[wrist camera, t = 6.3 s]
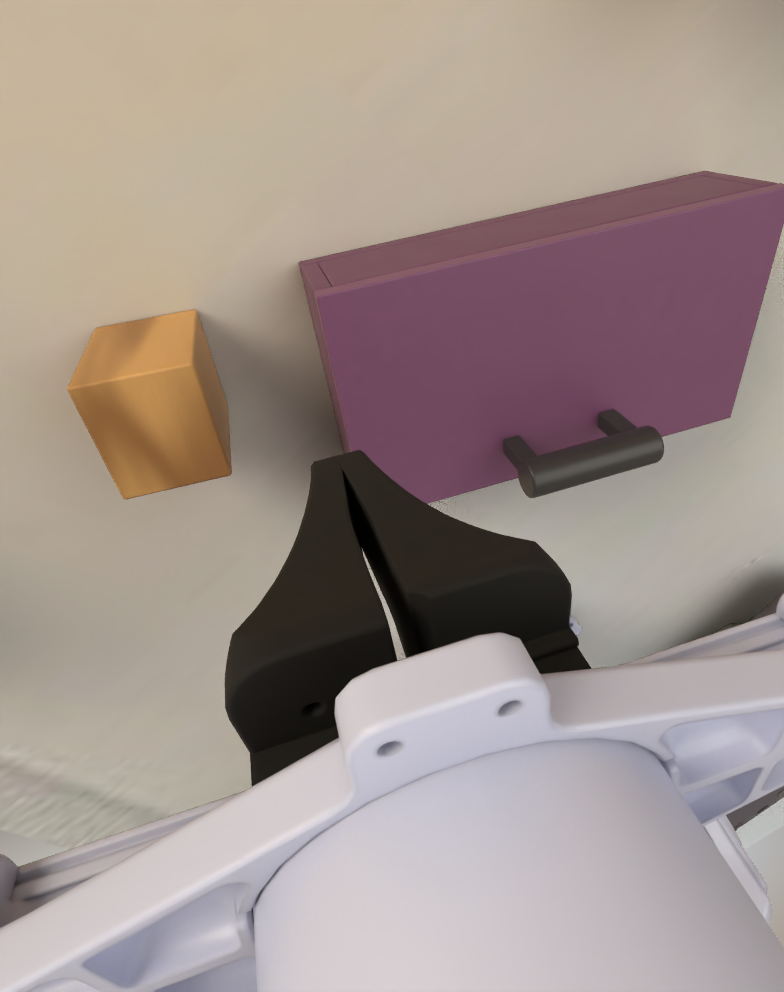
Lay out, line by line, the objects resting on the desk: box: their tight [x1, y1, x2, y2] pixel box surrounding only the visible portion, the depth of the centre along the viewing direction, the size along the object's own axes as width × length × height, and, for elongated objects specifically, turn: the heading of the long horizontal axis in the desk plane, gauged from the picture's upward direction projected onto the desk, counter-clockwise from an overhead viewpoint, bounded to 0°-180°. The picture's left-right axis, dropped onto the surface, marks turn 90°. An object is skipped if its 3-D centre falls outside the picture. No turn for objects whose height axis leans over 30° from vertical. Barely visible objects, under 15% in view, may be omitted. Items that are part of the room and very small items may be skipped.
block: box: [67, 310, 232, 499], centre depth 19 cm, size 4×5×4 cm
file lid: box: [314, 183, 784, 504], centre depth 19 cm, size 9×16×4 cm, turn 99°
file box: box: [299, 171, 777, 454], centre depth 22 cm, size 8×16×4 cm, turn 99°
